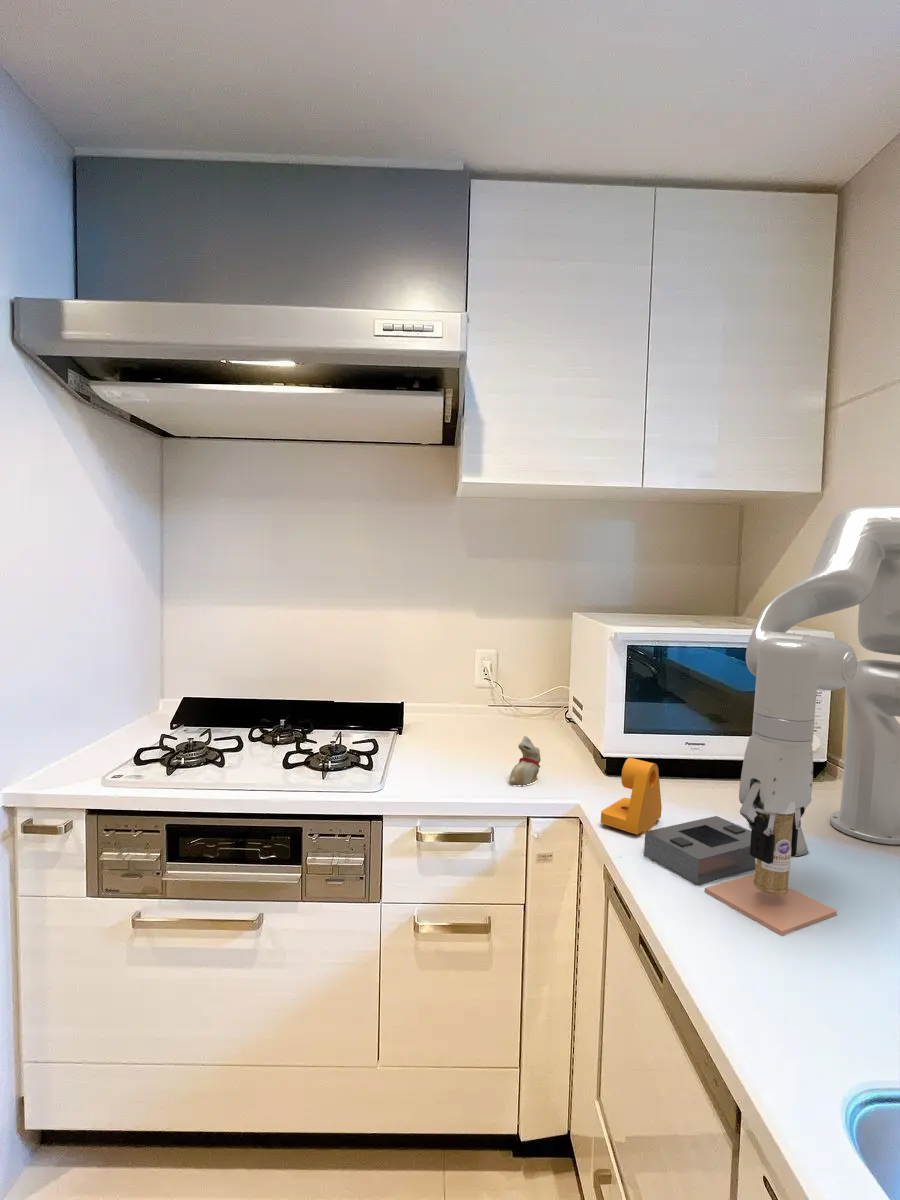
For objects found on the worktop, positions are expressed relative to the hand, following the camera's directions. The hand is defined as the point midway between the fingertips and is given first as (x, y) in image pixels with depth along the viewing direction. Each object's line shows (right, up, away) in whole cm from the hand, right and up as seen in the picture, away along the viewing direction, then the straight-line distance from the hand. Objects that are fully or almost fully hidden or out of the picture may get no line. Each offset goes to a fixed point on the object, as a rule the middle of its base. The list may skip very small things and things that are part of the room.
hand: (772, 854), depth 90 cm
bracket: (-13, -5, +27) cm, 30 cm away
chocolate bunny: (-29, -3, +47) cm, 56 cm away
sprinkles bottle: (0, -5, 0) cm, 5 cm away
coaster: (0, -7, 0) cm, 7 cm away
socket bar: (-4, -6, +13) cm, 15 cm away
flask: (+12, -7, +20) cm, 24 cm away
